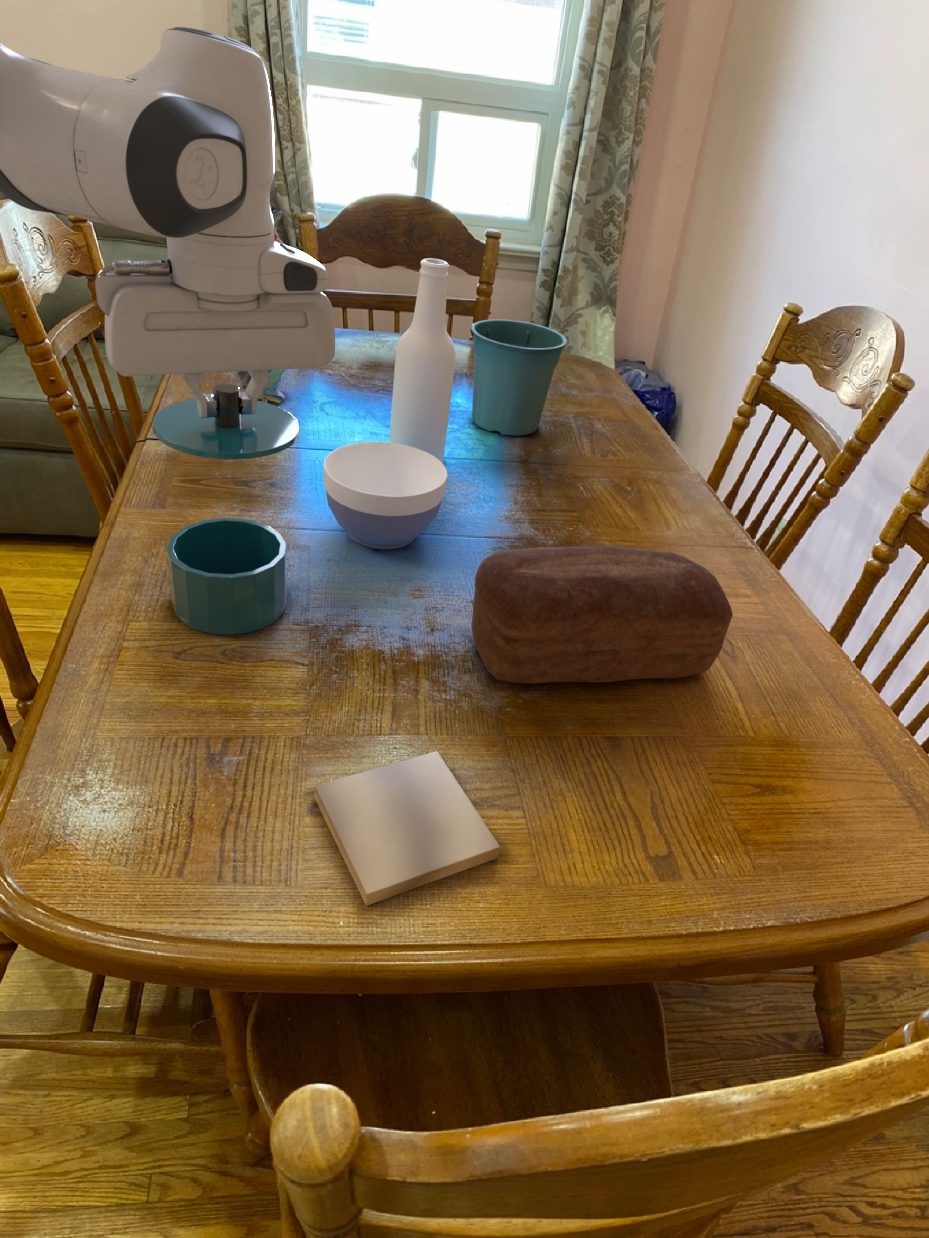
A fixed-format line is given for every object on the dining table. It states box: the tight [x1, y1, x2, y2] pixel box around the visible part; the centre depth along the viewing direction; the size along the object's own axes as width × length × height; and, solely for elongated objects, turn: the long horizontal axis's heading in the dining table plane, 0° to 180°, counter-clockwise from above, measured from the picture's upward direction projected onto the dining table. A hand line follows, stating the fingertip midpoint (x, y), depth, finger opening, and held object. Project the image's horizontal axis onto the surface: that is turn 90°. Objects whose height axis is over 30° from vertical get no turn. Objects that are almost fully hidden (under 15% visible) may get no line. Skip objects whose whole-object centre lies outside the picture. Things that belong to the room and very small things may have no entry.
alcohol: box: [388, 257, 457, 463], centre depth 122 cm, size 9×9×30 cm
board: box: [313, 750, 501, 906], centre depth 70 cm, size 12×12×2 cm
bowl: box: [322, 441, 448, 550], centre depth 108 cm, size 16×16×10 cm
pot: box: [166, 517, 288, 636], centre depth 92 cm, size 12×12×8 cm
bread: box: [470, 545, 734, 685], centre depth 91 cm, size 14×28×12 cm, turn 102°
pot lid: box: [152, 383, 300, 460], centre depth 79 cm, size 14×14×5 cm
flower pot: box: [470, 319, 568, 437], centre depth 143 cm, size 16×16×16 cm
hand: (227, 414), depth 79 cm, fingers closed on pot lid, 2 cm apart
